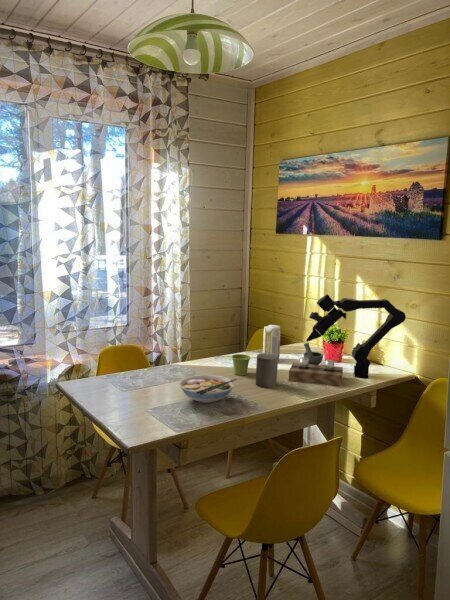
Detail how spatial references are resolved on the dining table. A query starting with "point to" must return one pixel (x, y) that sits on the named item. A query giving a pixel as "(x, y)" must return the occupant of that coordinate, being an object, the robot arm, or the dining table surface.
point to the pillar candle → (266, 370)
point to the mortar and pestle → (312, 355)
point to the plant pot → (240, 363)
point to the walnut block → (316, 374)
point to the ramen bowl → (206, 387)
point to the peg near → (329, 365)
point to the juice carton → (271, 340)
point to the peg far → (303, 363)
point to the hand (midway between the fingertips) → (307, 340)
